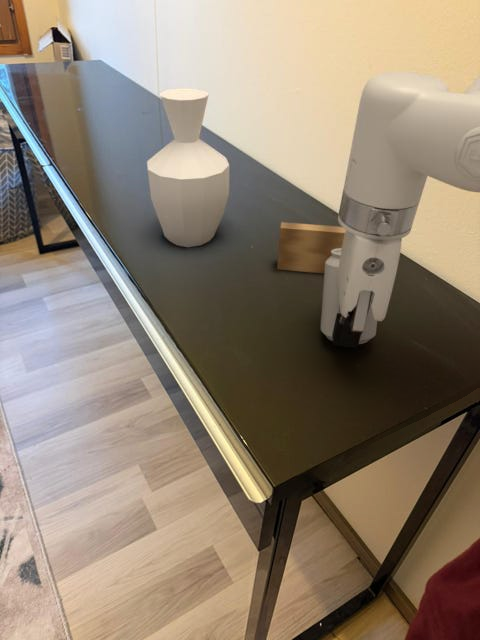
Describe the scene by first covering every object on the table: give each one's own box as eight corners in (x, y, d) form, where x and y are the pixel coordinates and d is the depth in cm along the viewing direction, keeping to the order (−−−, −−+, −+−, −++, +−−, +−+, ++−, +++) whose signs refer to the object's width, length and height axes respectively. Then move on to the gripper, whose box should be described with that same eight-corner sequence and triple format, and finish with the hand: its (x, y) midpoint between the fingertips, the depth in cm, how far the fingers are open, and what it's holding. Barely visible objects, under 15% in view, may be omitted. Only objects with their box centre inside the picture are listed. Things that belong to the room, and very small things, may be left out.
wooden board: (370, 271, 78) (380, 229, 73) (371, 277, 77) (381, 235, 72) (278, 263, 80) (281, 221, 75) (277, 269, 78) (280, 227, 73)
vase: (168, 262, 80) (153, 110, 64) (145, 227, 90) (127, 87, 74) (241, 246, 84) (244, 100, 69) (212, 214, 94) (209, 80, 79)
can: (344, 350, 58) (352, 257, 54) (309, 332, 64) (314, 247, 61) (387, 341, 62) (398, 252, 58) (350, 324, 68) (357, 244, 64)
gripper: (428, 251, 41) (380, 389, 52) (403, 184, 52) (368, 309, 64) (343, 243, 41) (315, 381, 53) (337, 178, 53) (314, 304, 64)
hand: (344, 342), depth 58 cm, fingers closed
